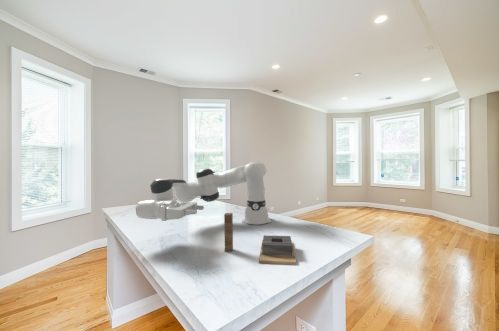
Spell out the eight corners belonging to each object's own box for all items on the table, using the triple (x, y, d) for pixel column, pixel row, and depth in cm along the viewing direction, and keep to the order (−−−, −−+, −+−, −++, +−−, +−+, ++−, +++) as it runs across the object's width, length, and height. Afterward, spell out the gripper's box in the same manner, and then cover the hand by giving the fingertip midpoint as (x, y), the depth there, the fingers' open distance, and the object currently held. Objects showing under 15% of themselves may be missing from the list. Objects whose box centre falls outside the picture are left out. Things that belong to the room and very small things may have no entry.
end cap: (262, 241, 112) (262, 231, 112) (291, 242, 110) (291, 232, 110) (258, 263, 88) (258, 250, 88) (296, 264, 86) (296, 251, 86)
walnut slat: (226, 248, 103) (225, 213, 103) (232, 249, 103) (232, 213, 102) (224, 251, 100) (224, 214, 100) (231, 251, 100) (231, 214, 100)
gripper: (180, 211, 116) (207, 212, 114) (159, 221, 95) (191, 222, 94) (180, 199, 116) (206, 199, 114) (159, 206, 95) (191, 206, 94)
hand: (200, 209), depth 104 cm, fingers open, 8 cm apart
